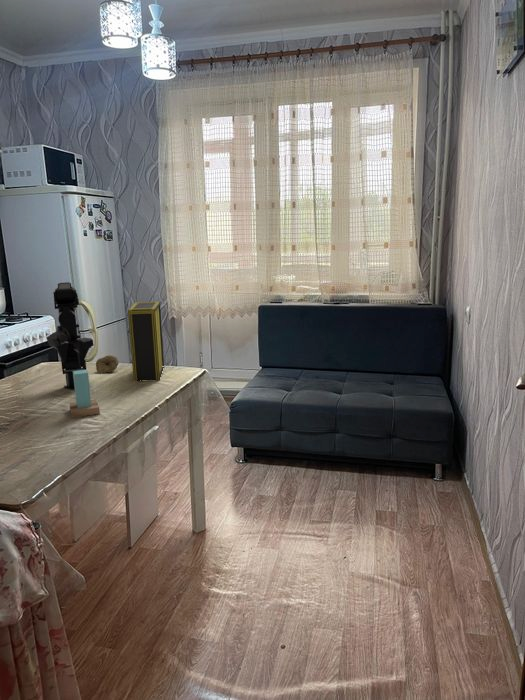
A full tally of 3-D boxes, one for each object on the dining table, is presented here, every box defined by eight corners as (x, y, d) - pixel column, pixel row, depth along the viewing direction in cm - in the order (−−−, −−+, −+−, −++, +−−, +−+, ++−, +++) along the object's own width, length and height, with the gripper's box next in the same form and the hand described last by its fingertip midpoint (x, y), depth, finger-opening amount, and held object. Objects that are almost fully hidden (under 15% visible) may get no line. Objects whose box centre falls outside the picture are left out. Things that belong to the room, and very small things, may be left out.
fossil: (93, 358, 234) (116, 352, 236) (96, 363, 237) (118, 357, 239) (97, 374, 229) (120, 368, 231) (99, 379, 233) (122, 373, 235)
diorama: (140, 368, 237) (135, 302, 230) (164, 367, 238) (160, 301, 231) (133, 382, 217) (127, 309, 210) (159, 380, 218) (154, 308, 211)
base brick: (69, 410, 186) (69, 403, 185) (96, 406, 189) (95, 399, 189) (72, 418, 178) (71, 411, 177) (99, 414, 181) (99, 407, 181)
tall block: (76, 404, 184) (72, 371, 181) (89, 402, 186) (86, 369, 183) (77, 408, 180) (74, 374, 177) (91, 406, 182) (88, 372, 179)
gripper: (32, 324, 191) (37, 366, 195) (67, 328, 182) (72, 372, 185) (57, 319, 200) (62, 359, 204) (92, 323, 191) (96, 364, 194)
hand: (72, 363), depth 197 cm, fingers open, 9 cm apart
